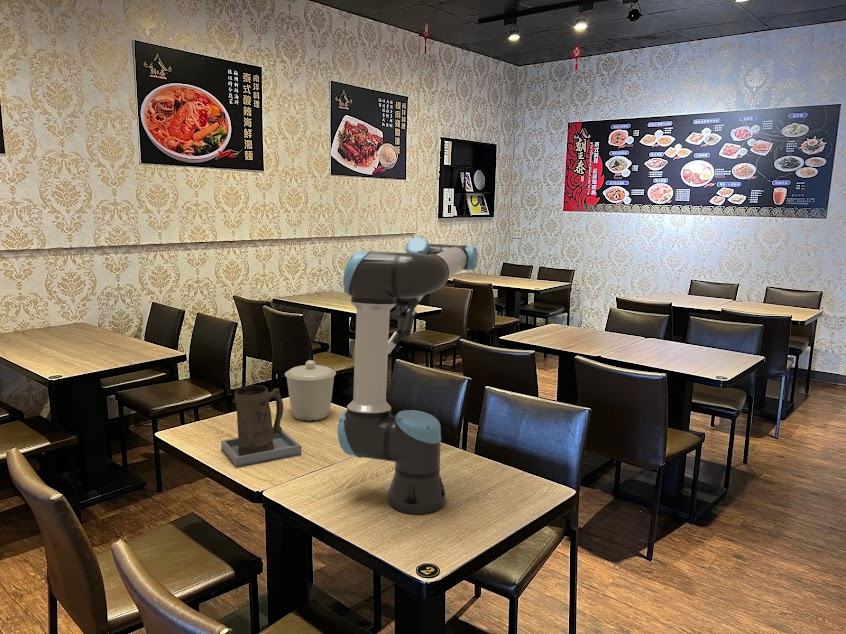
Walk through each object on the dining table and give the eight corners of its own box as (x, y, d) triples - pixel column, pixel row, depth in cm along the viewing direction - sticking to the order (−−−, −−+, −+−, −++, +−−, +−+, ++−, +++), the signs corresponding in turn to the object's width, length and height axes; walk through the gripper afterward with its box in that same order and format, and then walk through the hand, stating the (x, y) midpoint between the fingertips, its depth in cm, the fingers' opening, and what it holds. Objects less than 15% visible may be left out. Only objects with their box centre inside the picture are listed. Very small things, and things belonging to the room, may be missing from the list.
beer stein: (250, 461, 185) (248, 396, 182) (229, 452, 192) (227, 389, 188) (291, 446, 197) (290, 385, 194) (269, 438, 204) (268, 379, 200)
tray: (301, 454, 193) (301, 445, 193) (236, 468, 183) (236, 458, 182) (282, 438, 207) (282, 429, 206) (221, 449, 196) (221, 440, 195)
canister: (346, 414, 231) (346, 359, 228) (312, 428, 216) (312, 369, 213) (309, 405, 241) (308, 352, 237) (274, 418, 226) (273, 361, 222)
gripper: (442, 308, 197) (405, 361, 189) (391, 298, 215) (355, 347, 207) (430, 292, 192) (391, 346, 185) (379, 284, 210) (342, 333, 203)
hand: (372, 347), depth 196 cm, fingers open, 13 cm apart
